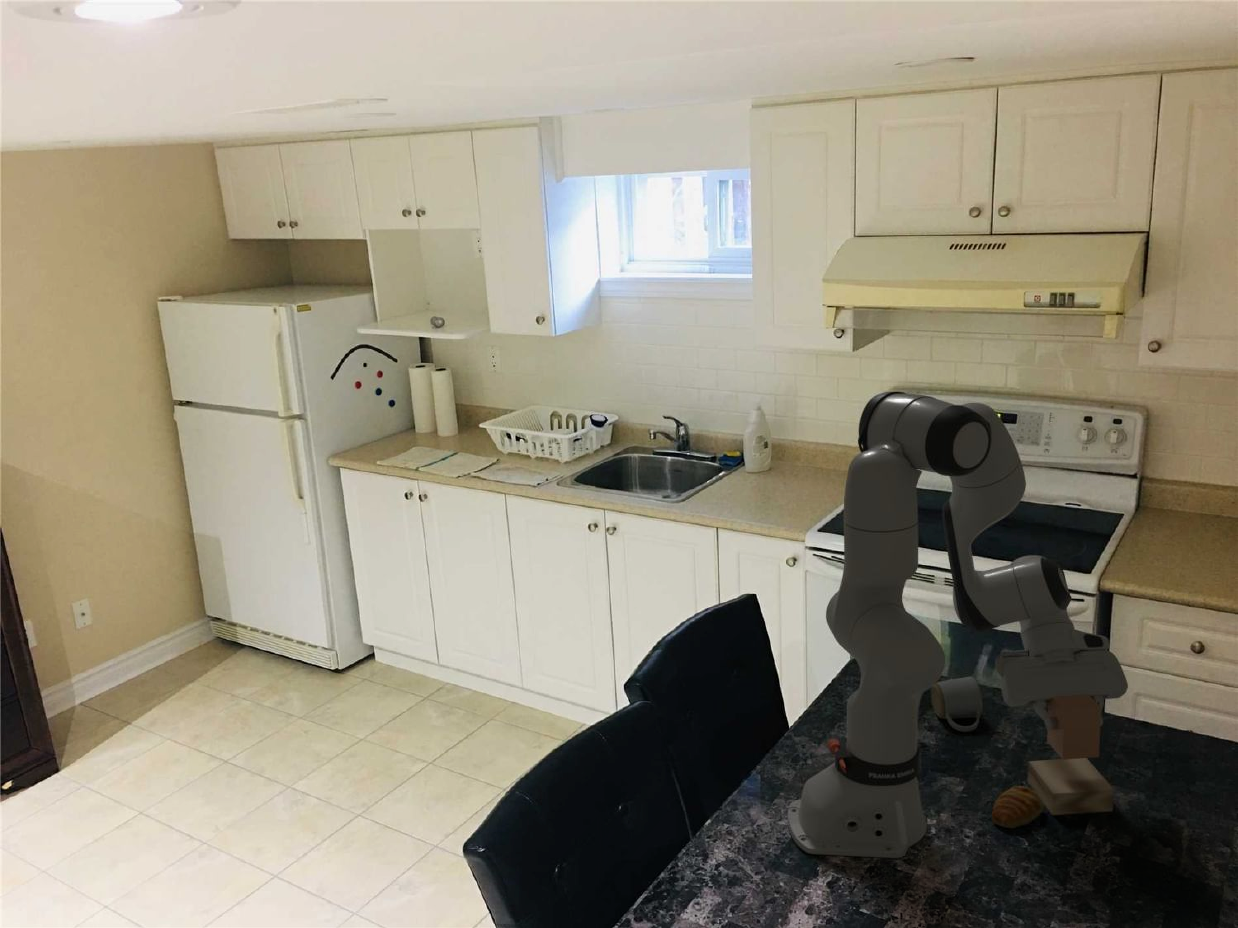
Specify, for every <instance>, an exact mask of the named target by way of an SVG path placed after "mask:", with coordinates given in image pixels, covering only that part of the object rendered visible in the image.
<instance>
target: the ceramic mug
mask: <svg viewBox="0 0 1238 928" xmlns="http://www.w3.org/2000/svg"><path fill="white" fill-rule="evenodd" d="M930 697H931V698H930V700H931V705H932V708H933V711H934V713H935V715H936V716H937V717H938V718H940V719H943V720H947V723H949V725H950V726H951V728H952V729H954V730H956V731H957V732H964V733H969V732H973V731H974V730H975V729H976V728H977V727H978V725H979V723H980V717H981V716H982V713H983V704H984V703H983V698H982V697H983V696H982V693H981V688H980V686H979V683H978V682H977V680H976V679H975V678H974V677H973V676H966V677H960V678H953V679H946V680H941V681H937V682H936V683H935V684H934V685H933V686H932V687H931V688H930ZM969 718H976V720H975V722H974V723H973V724H972V725H968V726H966V725H965V726H963V725H960V724H958V723H956V722H955V721H954V720H953V719H969Z"/></svg>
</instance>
